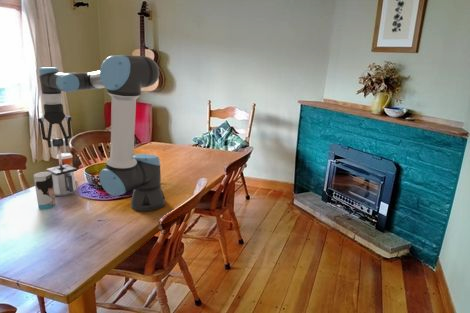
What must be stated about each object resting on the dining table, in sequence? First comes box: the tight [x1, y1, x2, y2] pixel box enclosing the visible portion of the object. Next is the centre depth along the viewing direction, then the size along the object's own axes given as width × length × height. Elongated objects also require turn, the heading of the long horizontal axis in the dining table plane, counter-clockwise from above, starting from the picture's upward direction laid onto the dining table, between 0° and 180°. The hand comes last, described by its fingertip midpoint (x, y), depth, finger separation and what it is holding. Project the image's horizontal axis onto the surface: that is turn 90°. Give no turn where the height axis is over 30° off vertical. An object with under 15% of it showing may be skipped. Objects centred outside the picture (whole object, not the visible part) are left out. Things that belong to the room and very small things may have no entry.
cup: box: [33, 171, 57, 211], centre depth 141 cm, size 7×7×15 cm
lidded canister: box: [45, 164, 78, 198], centre depth 156 cm, size 13×10×12 cm
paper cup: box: [56, 152, 74, 167], centre depth 173 cm, size 8×8×14 cm
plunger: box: [51, 137, 64, 170], centre depth 154 cm, size 7×7×21 cm
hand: (59, 153), depth 153 cm, fingers closed on plunger, 4 cm apart
